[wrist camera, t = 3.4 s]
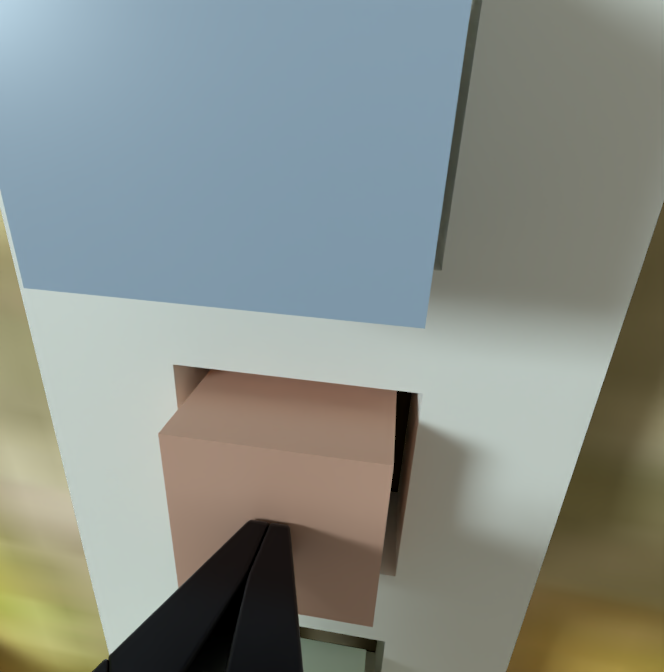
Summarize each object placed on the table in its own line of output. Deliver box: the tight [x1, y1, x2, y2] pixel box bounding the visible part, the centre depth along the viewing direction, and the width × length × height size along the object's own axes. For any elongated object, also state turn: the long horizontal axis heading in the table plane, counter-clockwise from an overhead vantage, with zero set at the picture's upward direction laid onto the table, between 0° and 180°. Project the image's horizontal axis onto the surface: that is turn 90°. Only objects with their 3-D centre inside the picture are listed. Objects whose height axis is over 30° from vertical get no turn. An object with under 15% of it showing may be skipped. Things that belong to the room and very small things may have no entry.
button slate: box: [0, 0, 472, 329], centre depth 6 cm, size 4×4×4 cm
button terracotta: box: [158, 369, 397, 627], centre depth 11 cm, size 4×4×4 cm
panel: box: [0, 0, 664, 672], centre depth 12 cm, size 28×12×3 cm, turn 177°
